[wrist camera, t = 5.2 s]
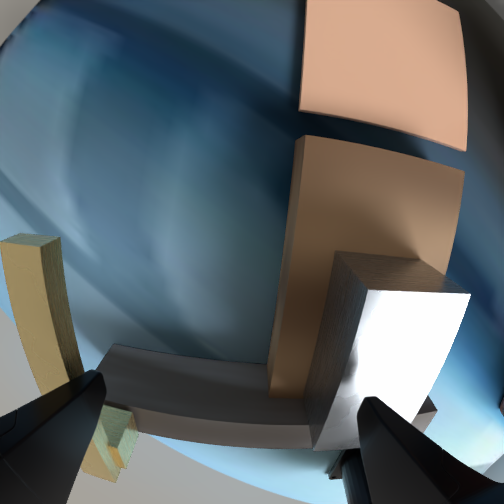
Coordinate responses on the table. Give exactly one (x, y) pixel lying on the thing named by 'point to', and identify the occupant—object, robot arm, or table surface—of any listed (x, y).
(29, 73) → the table surface
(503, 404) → the supplement bottle
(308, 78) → the tile
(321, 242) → the body
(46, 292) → the clamp bar
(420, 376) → the steel brick
